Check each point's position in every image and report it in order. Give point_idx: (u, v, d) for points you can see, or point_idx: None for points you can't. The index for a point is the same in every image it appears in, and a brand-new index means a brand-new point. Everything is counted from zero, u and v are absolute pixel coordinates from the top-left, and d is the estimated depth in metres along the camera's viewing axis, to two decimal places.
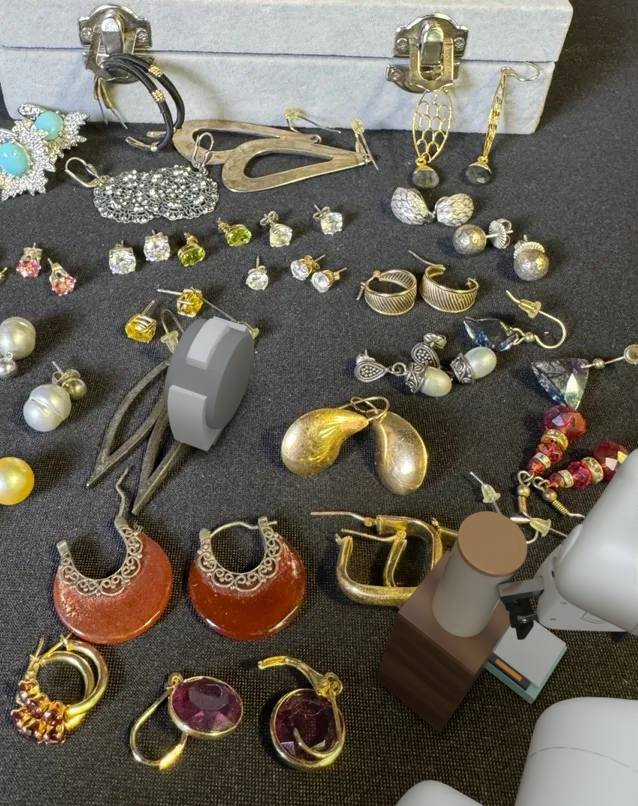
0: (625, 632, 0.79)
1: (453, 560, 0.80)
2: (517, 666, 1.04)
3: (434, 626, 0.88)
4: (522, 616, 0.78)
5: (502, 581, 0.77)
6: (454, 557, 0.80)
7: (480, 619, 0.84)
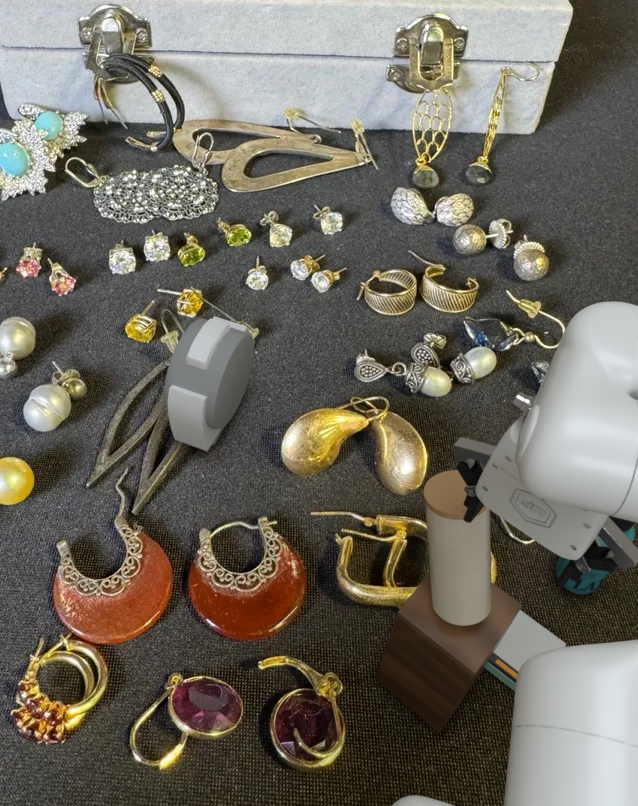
0: (566, 572, 0.70)
1: (427, 522, 0.83)
2: (517, 666, 1.04)
3: (434, 626, 0.88)
4: (469, 485, 0.73)
5: (472, 527, 0.79)
6: (426, 517, 0.83)
7: (472, 593, 0.84)
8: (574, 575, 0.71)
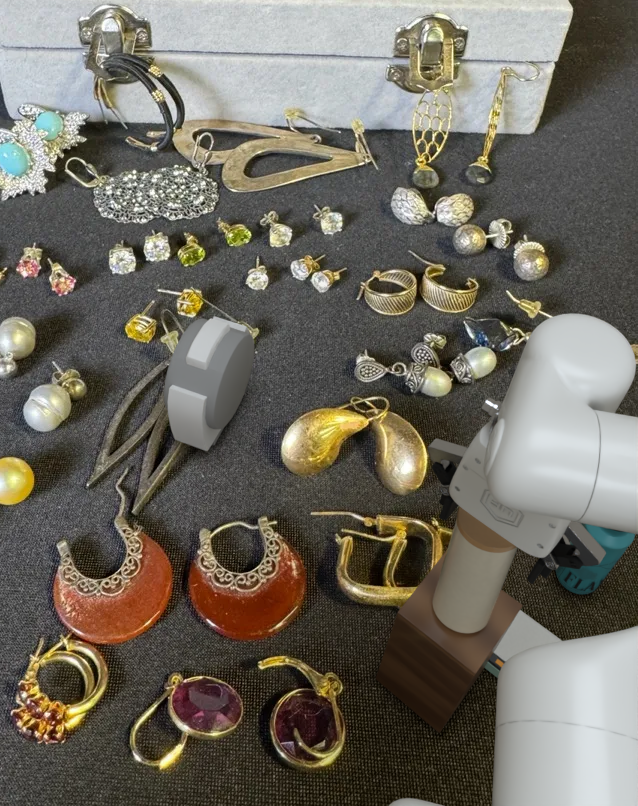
0: (536, 569, 0.73)
1: (453, 542, 0.81)
2: None
3: (434, 626, 0.88)
4: (444, 484, 0.76)
5: (502, 559, 0.78)
6: (454, 538, 0.80)
7: (482, 609, 0.84)
8: (544, 571, 0.74)
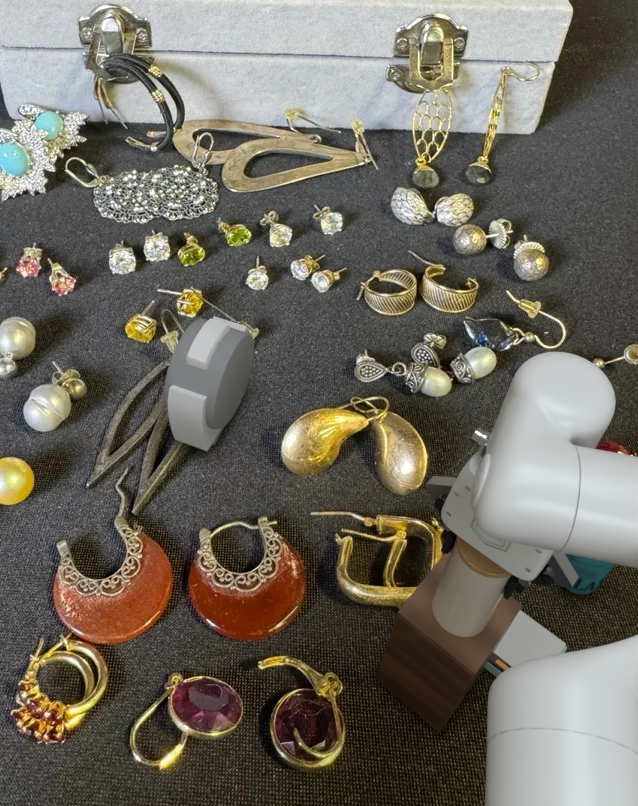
0: (510, 585, 0.77)
1: (453, 561, 0.80)
2: None
3: (434, 626, 0.88)
4: None
5: (502, 582, 0.77)
6: (454, 558, 0.79)
7: (481, 619, 0.84)
8: (518, 588, 0.78)
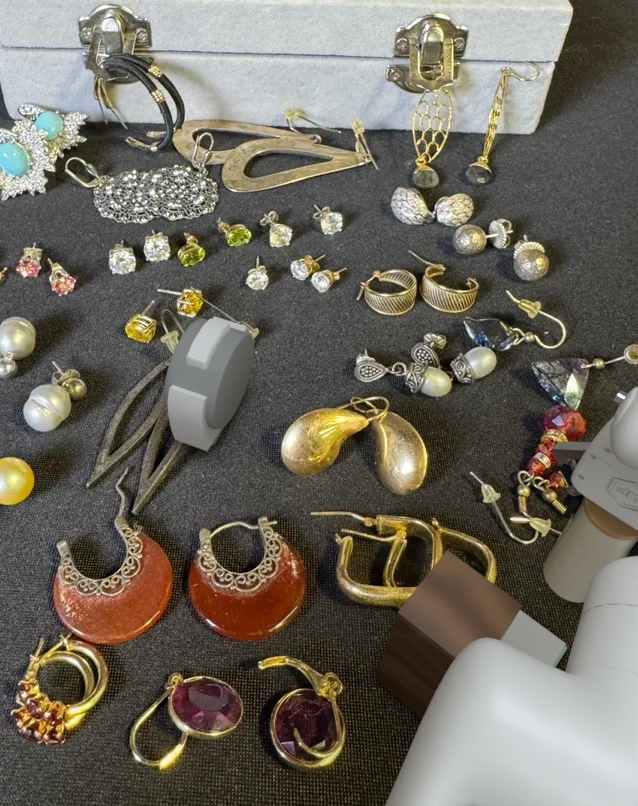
0: None
1: (577, 525, 0.81)
2: None
3: (434, 626, 0.88)
4: (570, 485, 0.80)
5: (630, 544, 0.79)
6: (579, 522, 0.81)
7: None
8: None
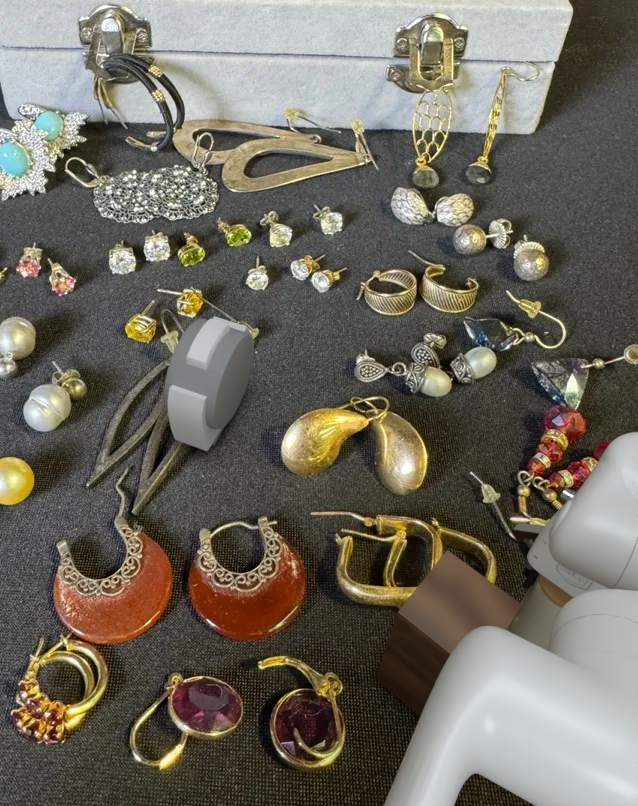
0: None
1: (534, 595, 0.93)
2: None
3: (434, 626, 0.88)
4: (527, 560, 0.93)
5: None
6: (535, 592, 0.93)
7: None
8: None
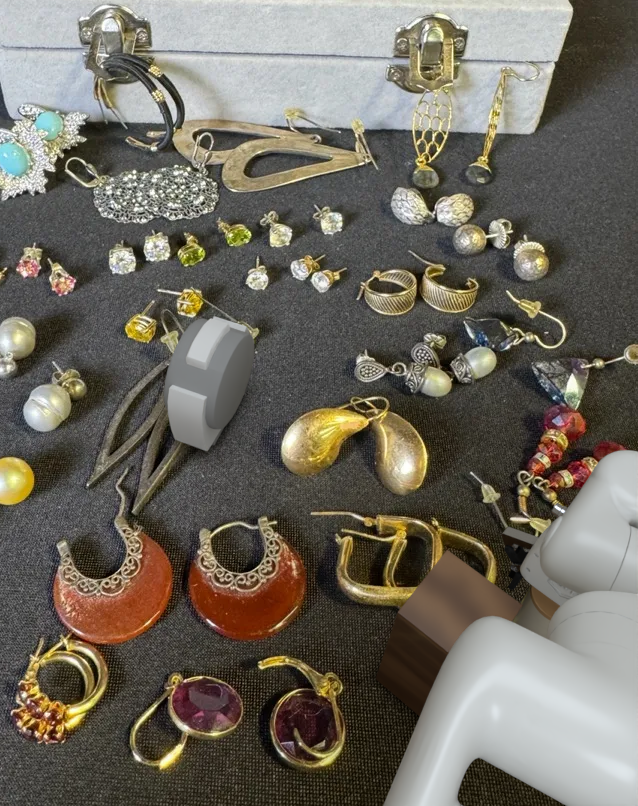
0: None
1: (526, 608, 0.96)
2: None
3: (434, 626, 0.88)
4: (514, 563, 0.95)
5: None
6: (527, 606, 0.96)
7: None
8: None
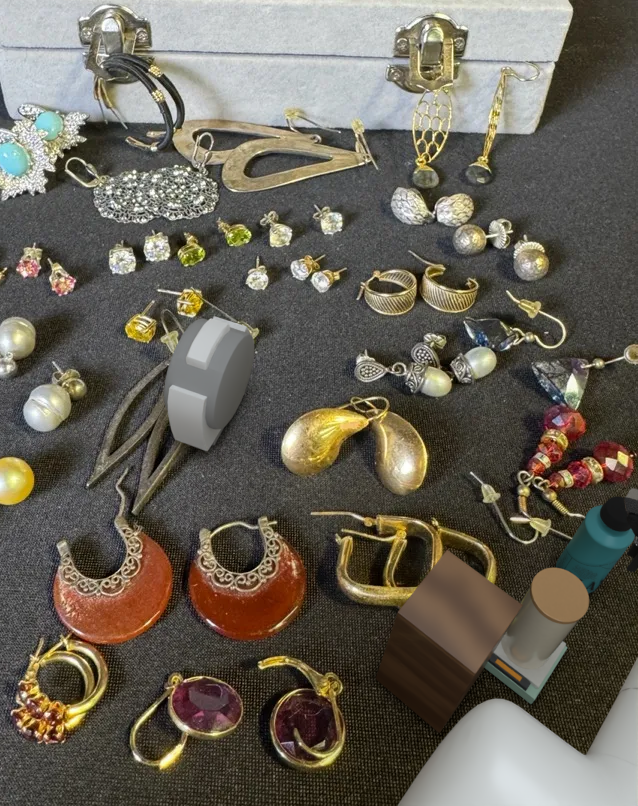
0: None
1: (526, 608, 0.96)
2: (517, 666, 1.04)
3: (434, 626, 0.88)
4: None
5: (569, 627, 0.94)
6: (527, 606, 0.96)
7: (546, 655, 1.01)
8: None
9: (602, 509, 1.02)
